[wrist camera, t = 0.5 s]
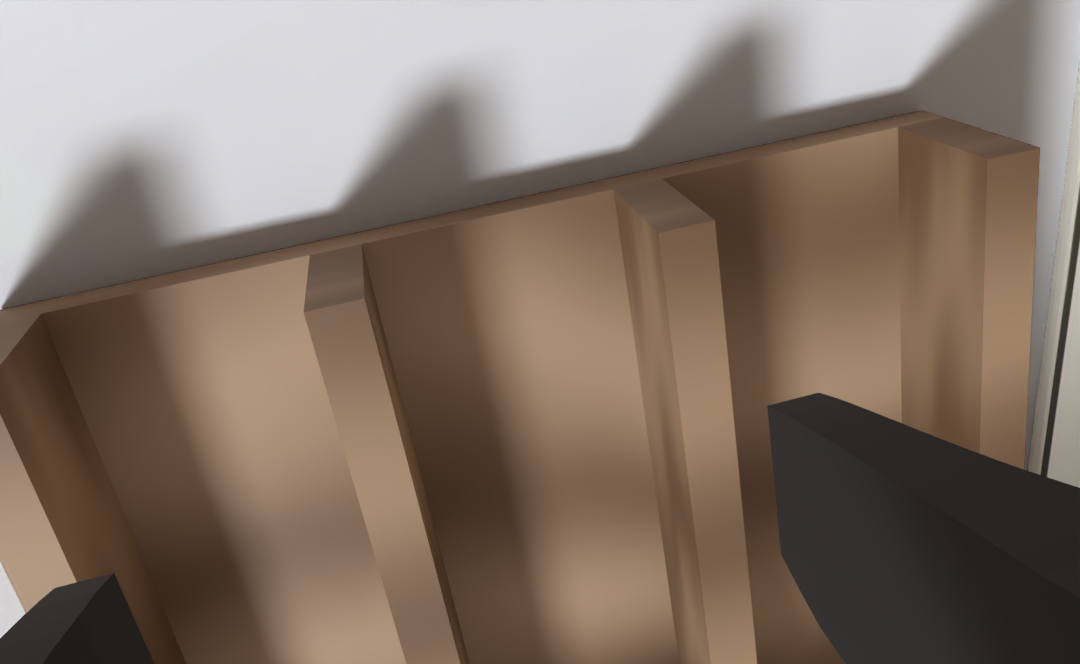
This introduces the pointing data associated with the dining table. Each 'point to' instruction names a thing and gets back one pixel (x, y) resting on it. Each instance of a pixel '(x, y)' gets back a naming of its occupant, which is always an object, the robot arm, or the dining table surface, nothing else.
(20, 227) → the dining table surface
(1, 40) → the dining table surface
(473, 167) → the dining table surface
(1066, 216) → the smartphone
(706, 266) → the rack
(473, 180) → the dining table surface
